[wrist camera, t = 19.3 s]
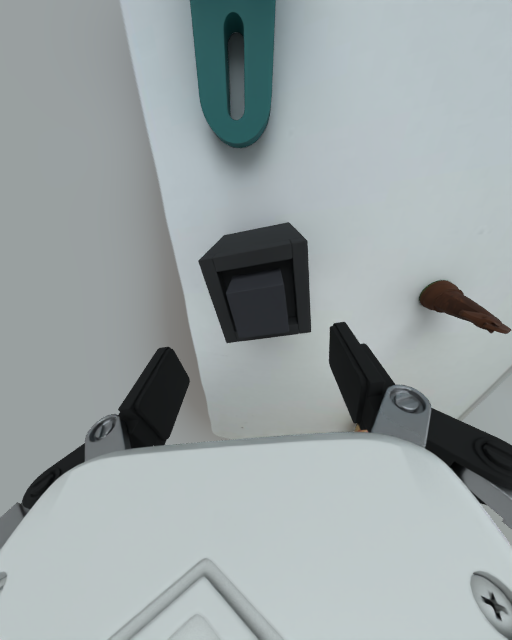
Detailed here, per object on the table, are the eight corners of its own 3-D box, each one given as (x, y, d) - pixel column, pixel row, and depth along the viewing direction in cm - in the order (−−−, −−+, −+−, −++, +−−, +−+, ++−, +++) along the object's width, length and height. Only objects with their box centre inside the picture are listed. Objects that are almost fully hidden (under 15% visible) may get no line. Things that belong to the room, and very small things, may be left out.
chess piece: (432, 276, 29) (503, 309, 20) (462, 284, 29) (542, 320, 21) (412, 303, 31) (467, 342, 23) (439, 310, 32) (503, 350, 23)
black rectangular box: (223, 235, 27) (198, 260, 16) (289, 222, 25) (307, 240, 15) (238, 294, 31) (226, 343, 21) (294, 285, 30) (311, 332, 20)
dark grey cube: (232, 275, 18) (225, 293, 15) (279, 267, 18) (283, 284, 14) (243, 315, 21) (239, 338, 17) (285, 309, 20) (289, 332, 17)
